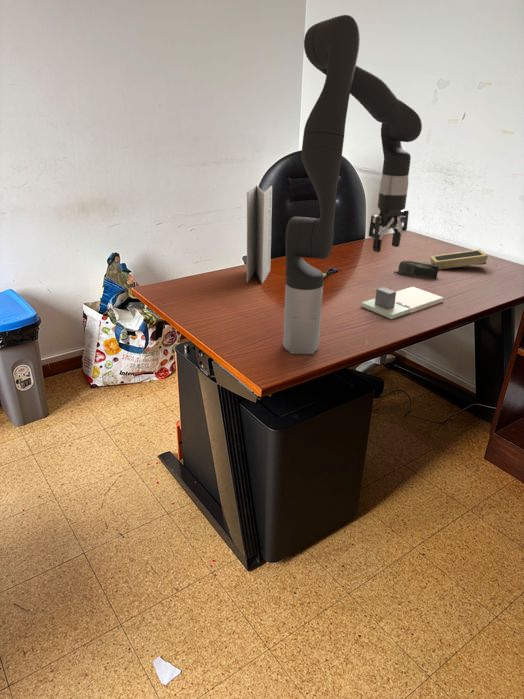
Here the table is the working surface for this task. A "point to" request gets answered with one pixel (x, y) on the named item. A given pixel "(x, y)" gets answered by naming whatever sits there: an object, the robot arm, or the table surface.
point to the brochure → (259, 232)
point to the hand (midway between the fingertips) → (386, 248)
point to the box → (459, 259)
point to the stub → (385, 304)
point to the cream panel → (416, 299)
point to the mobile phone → (418, 269)
